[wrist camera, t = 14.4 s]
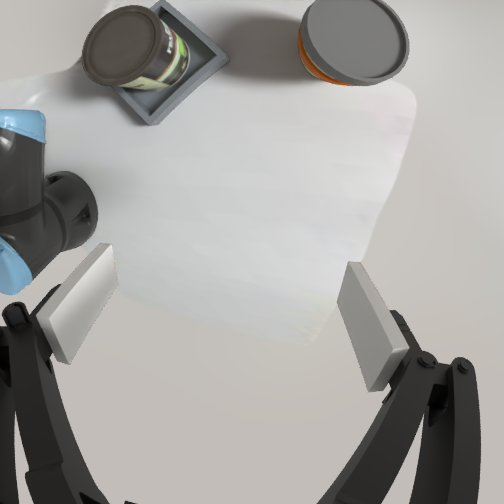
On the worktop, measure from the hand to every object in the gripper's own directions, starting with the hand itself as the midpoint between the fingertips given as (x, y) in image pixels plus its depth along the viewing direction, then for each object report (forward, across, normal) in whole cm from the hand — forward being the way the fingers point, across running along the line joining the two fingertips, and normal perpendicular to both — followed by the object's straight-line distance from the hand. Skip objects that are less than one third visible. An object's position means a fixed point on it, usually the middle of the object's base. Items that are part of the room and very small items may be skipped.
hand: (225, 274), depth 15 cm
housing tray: (+32, -14, +17) cm, 39 cm away
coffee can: (+31, -14, +17) cm, 38 cm away
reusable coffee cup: (+32, +11, +20) cm, 39 cm away
